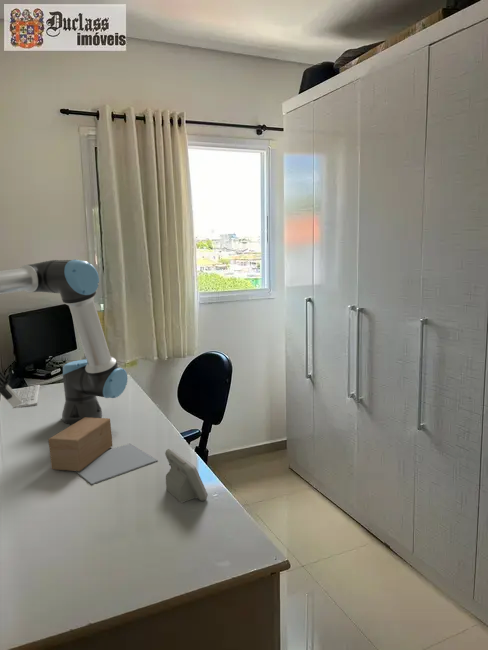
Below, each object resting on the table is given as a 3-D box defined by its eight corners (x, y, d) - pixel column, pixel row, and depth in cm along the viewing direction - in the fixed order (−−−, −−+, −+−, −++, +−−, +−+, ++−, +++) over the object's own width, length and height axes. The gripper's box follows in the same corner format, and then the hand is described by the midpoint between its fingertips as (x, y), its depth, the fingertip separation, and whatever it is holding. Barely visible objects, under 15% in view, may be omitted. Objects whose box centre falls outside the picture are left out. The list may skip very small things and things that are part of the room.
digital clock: (209, 502, 130) (208, 465, 128) (176, 510, 127) (174, 471, 125) (192, 476, 145) (191, 442, 143) (162, 482, 142) (160, 447, 140)
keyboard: (17, 390, 235) (16, 386, 234) (40, 388, 238) (39, 384, 238) (11, 410, 208) (10, 405, 207) (37, 406, 211) (36, 402, 211)
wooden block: (76, 440, 146) (110, 417, 165) (47, 438, 148) (84, 416, 167) (79, 471, 147) (113, 446, 166) (51, 469, 150) (87, 444, 169)
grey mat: (129, 444, 168) (129, 443, 168) (157, 461, 155) (157, 460, 155) (67, 464, 154) (66, 463, 154) (91, 484, 141) (91, 483, 141)
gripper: (-46, 340, 137) (9, 399, 148) (-58, 360, 126) (3, 422, 137) (-22, 326, 138) (31, 386, 149) (-32, 344, 126) (26, 408, 137)
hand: (17, 403), depth 143 cm, fingers closed
